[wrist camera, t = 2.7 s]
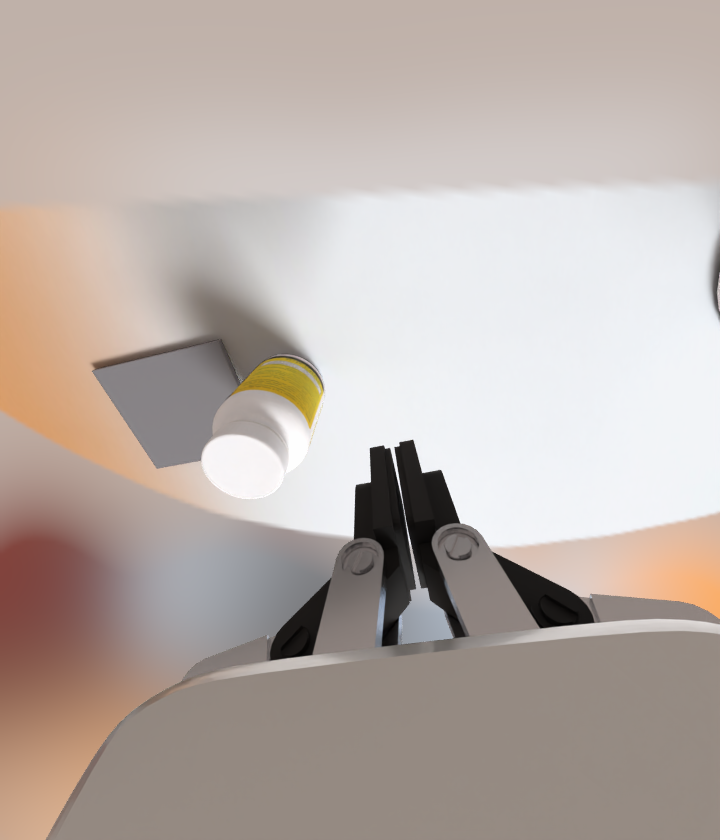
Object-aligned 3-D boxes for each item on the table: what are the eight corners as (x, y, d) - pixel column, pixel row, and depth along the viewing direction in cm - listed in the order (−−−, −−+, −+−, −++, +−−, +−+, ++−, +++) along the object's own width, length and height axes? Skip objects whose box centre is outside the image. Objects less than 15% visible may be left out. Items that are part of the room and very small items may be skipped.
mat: (220, 339, 22) (217, 341, 22) (267, 445, 26) (265, 448, 26) (97, 368, 23) (91, 371, 23) (160, 464, 28) (156, 468, 27)
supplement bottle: (252, 346, 22) (178, 410, 14) (329, 358, 23) (303, 428, 14) (253, 414, 25) (191, 502, 16) (322, 423, 25) (296, 516, 17)
